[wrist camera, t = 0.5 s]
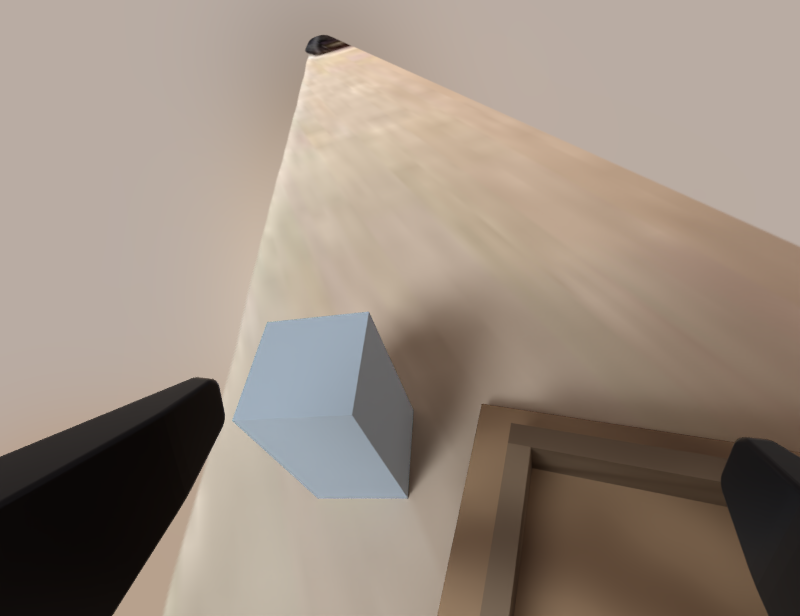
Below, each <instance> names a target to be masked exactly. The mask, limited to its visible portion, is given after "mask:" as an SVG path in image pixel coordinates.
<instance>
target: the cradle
mask: <svg viewBox="0 0 800 616" xmlns="http://www.w3.org/2000/svg"><path fill="white" fill-rule="evenodd" d="M733 445H734V442H728V441H721V440H715V439H708V438H702V437H695V436H689V435H682V434H676V433H669V432H663V431H656V430H650V429H643V428H637V427H630V426H624V425H617V424H610V423H604V422H597V421H591V420H584V419H578V418H571V417H565V416H558V415H552V414H545V413H539V412H532V411H526V410H519V409H513V408H506V407H500V406H493V405H487V404H482V406H481V411H480V415H479V420H478V425H477V430H476V434H475V439H474V444H473V449H472V453H471V458H470V463H469V468H468V472H467V477H466V482H465V487H464V491H463V496H462V501H461V506H460V510H459V515H458V520H457V525H456V529H455V534H454V539H453V544H452V548H451V553H450V558H449V563H448V567H447V572H446V577H445V582H444V586H443V591H442V596H441V601H440V605H439V610H438V615H437V616H768V614H767V611H766V609H765V607H764V605H763V603H762V600H761V598H760V596H759V593H758V591H757V589H756V586H755V584H754V581H753V579H752V576H751V573H750V571H749V568H748V565H747V562H746V559H745V556H744V553H743V551H742V548H741V545H740V542H739V539H738V536H737V533H736V530H735V527H734V525H733V522H732V519H731V516H730V513H729V510H728V507H727V504H726V501H725V499H724V496H723V493H722V489H721V475H722V472H723V469H724V467H725V464H726V462H727V459H728V457H729V455H730V452H731V450H732V447H733ZM790 452H792V453H794V454H795V455H797V456H799V457H800V452H793V451H790Z"/></svg>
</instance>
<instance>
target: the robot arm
mask: <svg viewBox="0 0 800 616" xmlns="http://www.w3.org/2000/svg"><path fill="white" fill-rule="evenodd" d="M224 420H225V412H224V407H223V402H222V398H221V393H220V388H219V385H218V383H217V382H216V381H215V380H214V379H208V378H199V377H196V378H191V379H189V380H187V381H184V382H182V383H179V384H177V385H174V386H172V387H169V388H167V389H165V390H162V391H160V392H157V393H155V394H152V395H150V396H148V397H145V398H142V399H140V400H138V401H135V402H133V403H130V404H128V405H125V406H123V407H121V408H118V409H116V410H113V411H111V412H109V413H106V414H104V415H101V416H98V417H96V418H94V419H91V420H89V421H86V422H84V423H81V424H79V425H76V426H74V427H72V428H70V429H67V430H64V431H62V432H60V433H57V434H54V435H52V436H50V437H47V438H45V439H42V440H40V441H38V442H35V443H33V444H30V445H28V446H25V447H23V448H20V449H18V450H15V451H13V452H11V453H8V454H6V455H3V456H1V457H0V616H112V615H113V614H114V612H115V611H116V609H117V607H118V606H119V604H120V603H121V601H122V600H123V598H124V596H125V595H126V593H127V592H128V590H129V589H130V587H131V585H132V584H133V582H134V581H135V579H136V578H137V576H138V574H139V573H140V571H141V570H142V568H143V566H144V565H145V563H146V562H147V560H148V558H149V557H150V555H151V554H152V552H153V551H154V549H155V547H156V546H157V544H158V543H159V541H160V540H161V538H162V536H163V535H164V533H165V532H166V530H167V528H168V527H169V525H170V524H171V522H172V521H173V519H174V517H175V516H176V514H177V513H178V511H179V509H180V508H181V506H182V504H183V503H184V501H185V499H186V498H187V496H188V494H189V492H190V490H191V489H192V487H193V485H194V483H195V481H196V479H197V477H198V475H199V473H200V471H201V469H202V467H203V465H204V463H205V461H206V459H207V457H208V455H209V453H210V451H211V449H212V447H213V445H214V443H215V441H216V439H217V437H218V435H219V433H220V431H221V429H222V427H223V424H224ZM721 489H722V493H723V496H724V499H725V501H726V504H727V507H728V510H729V513H730V516H731V519H732V522H733V525H734V527H735V530H736V533H737V536H738V539H739V542H740V545H741V548H742V551H743V553H744V556H745V559H746V562H747V565H748V568H749V571H750V573H751V576H752V579H753V581H754V584H755V586H756V589H757V591H758V593H759V596H760V598H761V600H762V603H763V605H764V607H765V609H766V611H767V614H768V616H800V457H799V456H797V455H795V454H794V453H792V452H790V451H789V450H787V449H785V448H784V447H782V446H780V445H778V444H777V443H775V442H773V441H771V440H767V439H759V438H749V437H742V438H739V439H737V440H736V441H735V443H734V445H733V447H732V450H731V452H730V455H729V457H728V459H727V462H726V464H725V467H724V469H723V472H722V475H721Z"/></svg>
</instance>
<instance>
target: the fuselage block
mask: <svg viewBox="0 0 800 616" xmlns="http://www.w3.org/2000/svg"><path fill="white" fill-rule="evenodd" d="M413 411H414V410H413V408H412V406H411V404H410V401H409V399H408V397H407V395H406V393H405V390H404V388H403V386H402V384H401V382H400V379H399V377H398V375H397V373H396V370H395V368H394V366H393V364H392V362H391V359H390V357H389V355H388V353H387V351H386V348H385V346H384V344H383V342H382V340H381V337H380V335H379V333H378V331H377V328H376V326H375V324H374V322H373V320H372V317H371V315H370V313H369V312H362V313H352V314H343V315H333V316H323V317H314V318H304V319H294V320H285V321H275V322H267V324H266V327H265V330H264V333H263V335H262V338H261V341H260V344H259V347H258V349H257V352H256V355H255V358H254V361H253V364H252V366H251V369H250V372H249V375H248V378H247V380H246V383H245V386H244V389H243V392H242V394H241V397H240V400H239V403H238V406H237V409H236V411H235V414H234V417H233V420H232V421H233V422H234V423H235V424H236V425H237V426H238V427H240V428H241V429H242V430H243V431H244V432H245V433H246V434H247V435H248V436H250V437H251V438H252V439H253V440H254V441H255V442H256V443H257V444H258V445H259V446H261V447H262V448H263V449H264V450H265V451H266V452H267V453H268V454H269V455H271V456H272V457H273V458H274V459H275V460H276V461H277V462H278V463H279V464H280V465H282V466H283V467H284V468H285V469H286V470H287V471H288V472H289V473H290V474H292V475H293V476H294V477H295V478H296V479H297V480H298V481H299V482H300V483H301V484H303V485H304V486H305V487H306V488H307V489H308V490H309V491H310V492H311V493H313V494H314V495H315V496H316V497H317V498H408V488H409V473H410V457H411V442H412V426H413Z"/></svg>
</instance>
